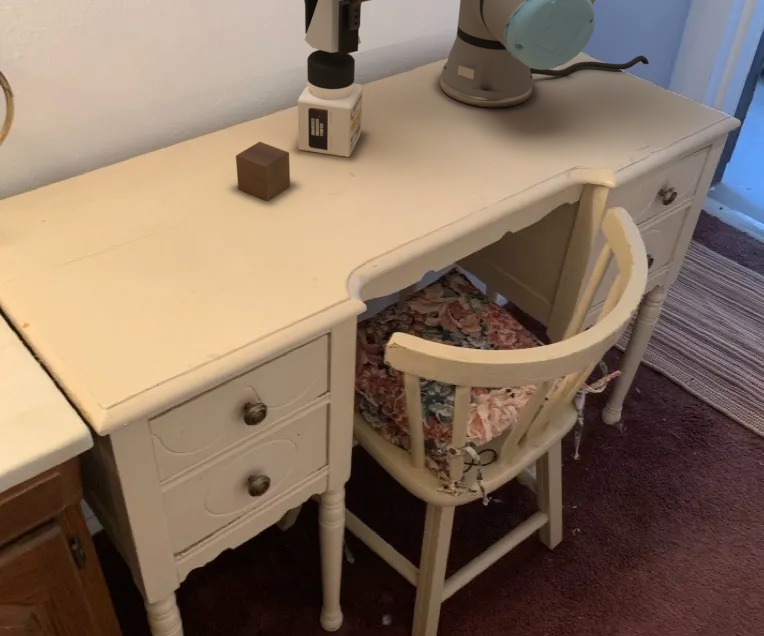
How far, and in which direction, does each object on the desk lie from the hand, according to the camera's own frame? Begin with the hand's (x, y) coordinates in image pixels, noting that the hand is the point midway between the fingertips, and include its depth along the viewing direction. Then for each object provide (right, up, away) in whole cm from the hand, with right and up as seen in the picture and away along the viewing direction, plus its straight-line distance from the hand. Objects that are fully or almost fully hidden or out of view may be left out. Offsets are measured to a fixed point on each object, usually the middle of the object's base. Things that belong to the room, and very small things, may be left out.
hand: (331, 41), depth 113 cm
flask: (0, 0, 0) cm, 1 cm away
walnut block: (-9, -20, 0) cm, 22 cm away
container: (-1, -11, +10) cm, 15 cm away
